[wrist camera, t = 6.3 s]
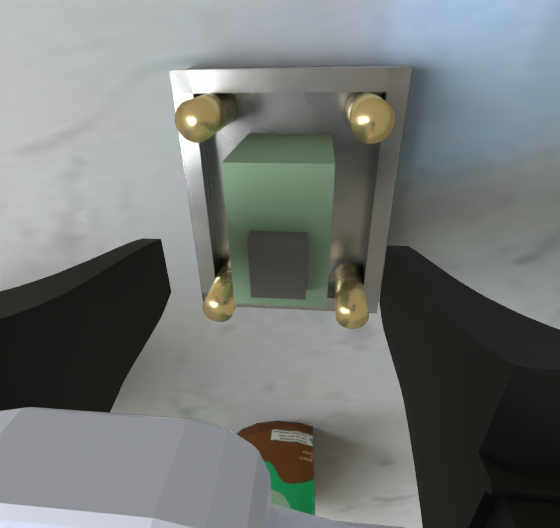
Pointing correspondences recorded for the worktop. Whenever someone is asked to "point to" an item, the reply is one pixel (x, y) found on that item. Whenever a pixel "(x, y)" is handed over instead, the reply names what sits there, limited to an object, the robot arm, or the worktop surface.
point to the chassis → (297, 120)
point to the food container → (286, 461)
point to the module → (280, 218)
